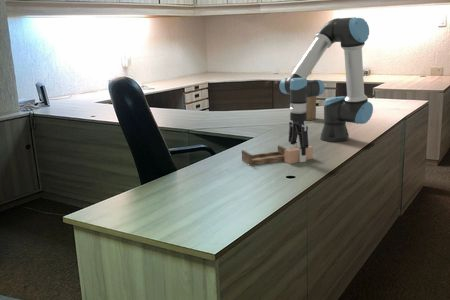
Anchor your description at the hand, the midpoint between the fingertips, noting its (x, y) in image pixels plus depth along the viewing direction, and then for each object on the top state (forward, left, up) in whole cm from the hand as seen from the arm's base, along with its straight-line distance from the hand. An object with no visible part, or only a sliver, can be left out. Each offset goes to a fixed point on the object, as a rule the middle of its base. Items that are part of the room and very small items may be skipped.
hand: (298, 159), depth 230 cm
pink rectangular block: (0, 0, 0) cm, 1 cm away
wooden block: (-53, -87, 0) cm, 102 cm away
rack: (+14, -7, 0) cm, 15 cm away
